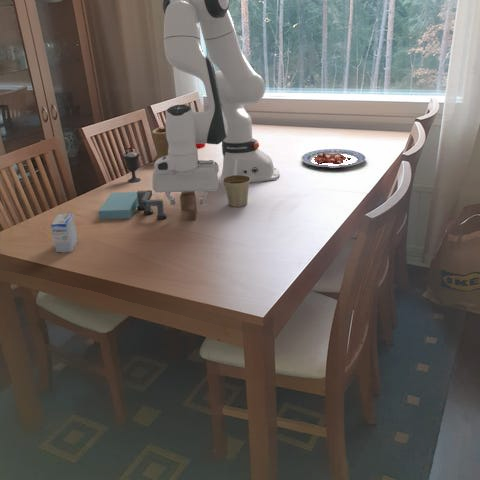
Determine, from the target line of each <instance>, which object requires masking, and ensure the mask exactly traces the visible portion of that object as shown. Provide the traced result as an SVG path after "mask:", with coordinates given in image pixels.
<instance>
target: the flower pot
mask: <svg viewBox="0 0 480 480" xmlns="http://www.w3.org/2000/svg"><path fill="white" fill-rule="evenodd" d="M250 180H251V178H250V177H249V176H246V175H232V176H227V177H225V178H223V179H222V178H221V182H222V184H223V186H224V188H225V193H226V197H227V202H228V206H230V207H234V208H240V207H244V206H245V205H247V204H248V198H249V188H250V187H249V186H250V184H251V182H250Z"/></svg>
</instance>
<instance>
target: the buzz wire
mask: <svg viewBox="0 0 480 480" xmlns="http://www.w3.org/2000/svg"><path fill="white" fill-rule="evenodd" d="M152 190H153V189H152ZM152 190H151V189H150V190H148V189H147V190H137V191H136V192H137V197H138V204H139V205H138V206H137V208H136V210H138V211H143V214H144V216H149V215H151V216H152V214H154V210H153V209H152V207H156V208H157V209H156V210H157V215H156V219H157V220H158V221H159V220H160V221H162V220H166V219H167V214H166V213H165V211H164V210H165V209H164V201H163V198H162V199H159V198H157V199H156V198H155V199H151V198H152V196H153V191H152Z"/></svg>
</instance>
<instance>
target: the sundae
mask: <svg viewBox="0 0 480 480" xmlns="http://www.w3.org/2000/svg"><path fill="white" fill-rule="evenodd" d="M132 145H134V144H133V143H132V142H131V144H130V146H129V147H128V148H126V150H125V153H123V154H121V158H122V159H124V162H125V166H126V169H127V170H128V171H129V172H130V173H131V178H130V179H128V180H127V182H128V183H138V182H140V181H141V180H142V179H141V178H140V177H137V176H136V171H137V170H138V167H139V157H140V153H138V152H136V150H135V149H134V147H133V146H132Z"/></svg>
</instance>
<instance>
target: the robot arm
mask: <svg viewBox="0 0 480 480" xmlns="http://www.w3.org/2000/svg"><path fill="white" fill-rule="evenodd" d="M230 3H231V1H230V0H162V11H163V14H164V19H163V21H164V22H163V47H164V49H163V50H164V54H165V58H166V60H167V62H168V63H169V65H171V66H172V67H173V68H174V69H176V70H178V71H180V72H183V73H186V74H188V75H191V76H194V77H196V78H198V79H199V80H201V82H202V83H203V85H204V91H205V94H206V95H205V96H206V99H207V105H208V110H207V111H193V109H192V107H191V106H189V105H188V104H187V105H186V104H174V105H172V106H169V107H168V108H166V109H167V110H166V112H165V123H164V127H165V133H166V138H167V141H168V144H169V148H168V155H167V156H164V157H161V158H159V159H157V161H155V162H154V163H153V164H154V165H153V168H154V171H153V174H152V180H151V181H152V190H153V191H154V192H155V193H164V196H166V198H167V200H168V201H169V205H170V206H175V205H176V199H175V197H172V196H171V193H177V192H178V193H180V192H185V191H195V192H202V194H203V196H202V197H201V196H200V197H199V204H200V205H205V204H206V198H207V195H208V193H209V191H210V192H211V191H213V192H214V191H217V190H218V188H219V186H220V182H219V175H218V173H219V171H220V170H219V164H218V162H217V161H215V160H214V159H213V160H211V159H209V160H203V159H201V160H199V154H198V153H199V152H198V151H199V150H198V149H197V147H196V144H200V143H205V144H207V145H219V144H221V151H222V153H221V154H222V156H223V158H222V159H223V161H222V171H221V176H220V177H221V178H220V179H221V180H222V179H223V178H225V177H227V176H232V175H246V176H249V177H250V178H251V180H250V183H257V182H266V181H267V182H268V181H276V180H277V179H279V178H278V177H280V170H279V169H278V168H277V167H275V166H274V162H273V159H272V157H270V156H269V155H268V154H267V153H265V152H264V151H263V150H261V149H259V147H260V143H259V141H258V139H254V138H253V122H252V121H253V120H252V117H251V115H250V114H249V113H248V111H247V110H246V108H245V106H244V105H252V104H255V103H258V102H260V101H261V100H262V99H263V97H264V95H265V92H266V84H265V81H264V79H263V77H262V76H261V75H259V74H258V72H256V71H255V70H254V69H253V68H252V66H251V65H250V63H249V61H248V60H247V59H246V58H247V57H245V54H244V53H243V51H242V49H241V45H240V42H239V39H238V35H237V32H236V28H235V25H234V21H233V18H232V16H231V14H230V11H229V7H230ZM200 30H201V31H200ZM201 34H202V37H203V41H204V44H205V47H206V51H207V54H208V56H207V55H206V54H205V51H203V48H202V45H201V44H202V43H201ZM214 66H216V67H217V68H218V70H217V71H215V67H214Z"/></svg>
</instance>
